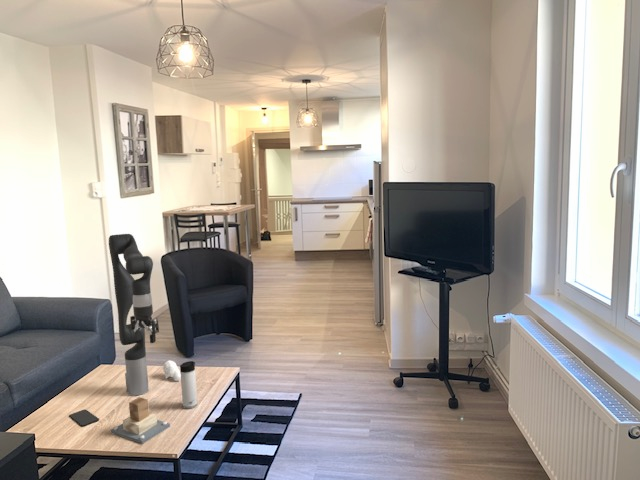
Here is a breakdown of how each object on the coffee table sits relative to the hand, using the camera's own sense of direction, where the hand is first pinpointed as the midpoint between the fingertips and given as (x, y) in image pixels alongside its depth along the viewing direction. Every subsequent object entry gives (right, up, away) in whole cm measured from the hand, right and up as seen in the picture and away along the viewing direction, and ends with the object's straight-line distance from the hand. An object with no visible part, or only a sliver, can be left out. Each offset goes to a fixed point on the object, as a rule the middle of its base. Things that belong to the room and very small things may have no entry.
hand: (145, 341), depth 202 cm
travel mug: (+16, -31, +10) cm, 36 cm away
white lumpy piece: (0, -27, +39) cm, 47 cm away
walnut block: (+1, -29, -10) cm, 30 cm away
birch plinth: (+1, -33, -10) cm, 34 cm away
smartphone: (-27, -34, +2) cm, 43 cm away
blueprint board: (+1, -34, -9) cm, 35 cm away
